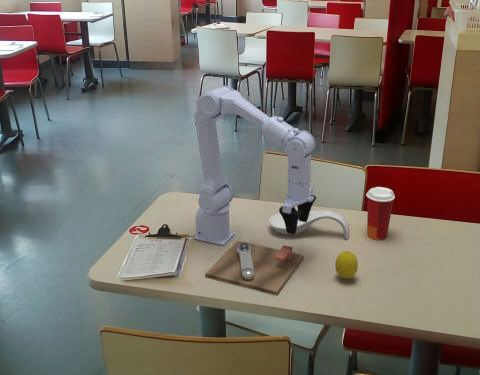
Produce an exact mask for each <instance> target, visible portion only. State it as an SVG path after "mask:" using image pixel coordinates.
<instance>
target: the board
mask: <svg viewBox="0 0 480 375" xmlns="http://www.w3.org/2000/svg"><path fill="white" fill-rule="evenodd" d="M242 243H247V244H249V245H251V247H252V254H251V257H252V262H253V268H254V279H252V280H244V279H243V278H242V272H241V265H240V258H239V255H237V246H238V245H240V244H242ZM279 250H280V249H278V248H272V247H268V246H264V245H259V244H254V243H252V242H251V243H250V242H245V241H241V240H236V241H235V242H234V244H232V246H230V248H229V249H227V251H225V252H224V253H223V255H221V257H220V258H218V260H217V261H216V262H214V264H212V266H211V267H210V268H209V269H208V270H207V271H206V272H205V273H204V277H205V278H209V279H212V280H215V281H216V280H217V281H220V282H224V283H228V284H230V285H231V284H232V285H236V286H240V287H243V288H247V289H251V290H255V291H259V292H263V293H265V294H266V293H267V294H270V295H275V296H278V295H279V294H280V292H281V291H282V290H283V289H284V287H285V285H286V284H287V283H288V282H289V280H290V279H291V277H292V276H293V274H294V273H295V272H296V270H297V268H298V267H299V266H300V264H301V263H302V262H303V260H304V259H305V255H304V254H299V253H295V252H292V258H291V260H286V259H284V261H280V260H276V259H274V256H275V255H276V254H277V253H278V251H279Z"/></svg>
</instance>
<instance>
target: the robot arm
mask: <svg viewBox="0 0 480 375" xmlns="http://www.w3.org/2000/svg"><path fill="white" fill-rule="evenodd" d="M195 103H196V110H195V114H194V124H195V130H196V137H197V138H196V139H197V144H198V150H199V156H200V162H201V163H200V164H201V170H202V175H203V176H202V177H203V181H202V182H201V185H200V187H199V189H198V191H199V197H198V202H197V203H198V206H199V208H197V210H196V213H195V217H194V218H195V237H194V239H195V240H198V241H202V242H206V243H210V244H211V243H212V244H214V245H219V246H224V245H226V244H227V242H228V241H230V239H232V238H233V236H235V234H236V232H235V231H232V230H230V206H231V205H230V204H231V202H232V201H233V199H234V191H233V189H232V187H231V185H230V181H229V179H228V178H227V177H225V176H224V173H223V172H224V171H223V165H222V158H221V151H220V145H219V137H218V131H217V124H216V122H217V121H218V120H219V119H220V118H221V117H222V116H224V115H225V116H226V115H238V116H239V117H241V118H243V119H245V120H246V121H248V122H250V123H251V124H253V125H255V126H257V127H258V128H261V133H262V134H263V136H264V137H266V138H267V139H269V140H270V141H272V142H274V143H275V144H276V145H278V146H279V147H281V148H282V149H283V150H284V153H285V155H286V157H287V187H286V189H287V192H286V195H285V200H284V202H283V203H284V204H282V206H280V207H279V209H278V213H280V214H281V216H282V217H283V220H284V222H285V226H286V230H287V233H290V234H295V233H296V229H297V223H298V219H299V221H302V222H307V220H308V217H309V213H310V211H312V207H313V205H314V203H315V201H317V200H316V199H317V197H316V195H314V194H313V191H314V190H313V189H314V187H313V185H311V172H312V171H311V170H312V169H311V167H312V153H311V152H313V150H314V149H315V148H316V139H315V137H314V136H313V135H312V134H311V132H309V131H308V130H300V129H299V128H298V127H294V126H292V125H290V124H289V123H288V122H286V121H284V118H283V117H282V116H277V115H274V116H268V115H267V114H266V113H265V112H263V111H261V110H260V109H259V108H258V107H256V106H255V105H254V104H252V103H251V102H249V101H248V100H247V99H245V98H244V97H243V95H242V94H241V93H240V91H238V90H236V89H234V88H233V87H231V86H229V85H221V86H220V87H218V88H216V89H213V90H210V91H207V92H204V93H202V94H201V95H200V96H199V97H198V98H197V99H196V101H195ZM296 207H297V209H296Z"/></svg>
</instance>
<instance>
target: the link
mask: <svg viewBox="0 0 480 375" xmlns="http://www.w3.org/2000/svg"><path fill="white" fill-rule="evenodd" d="M247 243H248V242H246V243H242V244H240V245H238V246H237V255H239V258H240V265H241V272H242V278H243V279H244V280H252V279H254V268H253V262H252V257H251V254H252V247H251V245H249V244H247Z"/></svg>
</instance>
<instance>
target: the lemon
mask: <svg viewBox="0 0 480 375" xmlns="http://www.w3.org/2000/svg"><path fill="white" fill-rule="evenodd" d="M358 264H359V263H358V258H357V256H356V255H355V254H354V253H353V252H352V251H349V250H345V251H342V252H340V253H339V254H338V255H337V257H336V260H335V265H334V266H335V271H336V273H337V274H338V276H339V277H341V278H343V279H345V280H347V279H350V278H353V277H354V276H355V275H356V273H357V272H358V269H359V268H358V266H359V265H358Z"/></svg>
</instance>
